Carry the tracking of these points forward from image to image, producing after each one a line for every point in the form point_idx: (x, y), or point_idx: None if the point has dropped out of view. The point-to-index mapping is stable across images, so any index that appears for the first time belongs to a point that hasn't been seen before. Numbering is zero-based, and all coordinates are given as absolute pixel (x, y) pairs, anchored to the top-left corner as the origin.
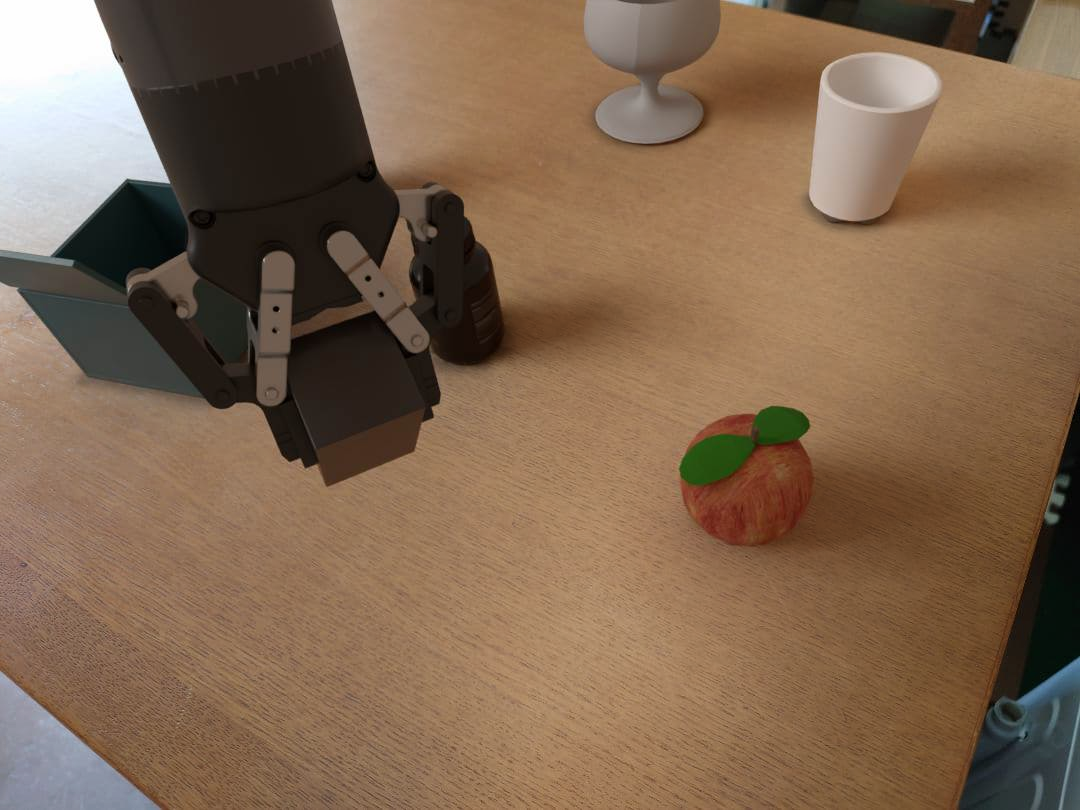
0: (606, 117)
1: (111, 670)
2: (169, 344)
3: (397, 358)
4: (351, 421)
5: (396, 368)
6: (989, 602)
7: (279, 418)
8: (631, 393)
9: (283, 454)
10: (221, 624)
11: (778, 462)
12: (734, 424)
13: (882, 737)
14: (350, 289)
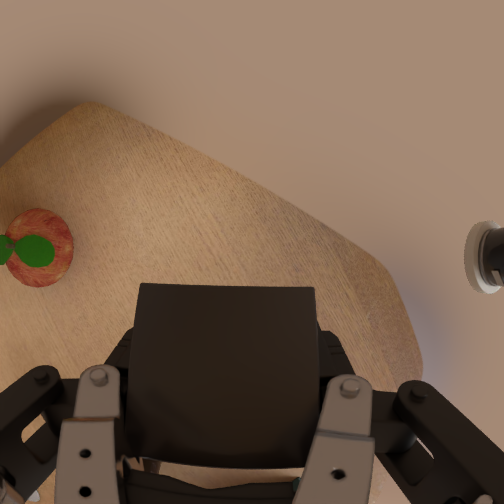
0: (33, 494)
1: (394, 344)
2: (495, 455)
3: (137, 368)
4: (249, 305)
5: (147, 354)
6: (20, 154)
7: (336, 367)
8: (65, 355)
9: (335, 337)
10: (344, 346)
11: (14, 227)
12: (16, 265)
13: (86, 124)
14: (139, 498)
